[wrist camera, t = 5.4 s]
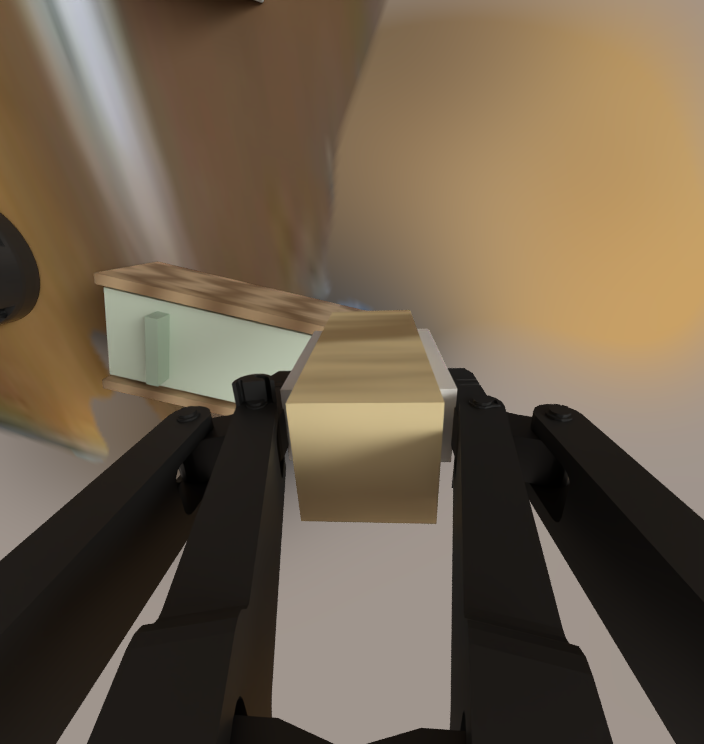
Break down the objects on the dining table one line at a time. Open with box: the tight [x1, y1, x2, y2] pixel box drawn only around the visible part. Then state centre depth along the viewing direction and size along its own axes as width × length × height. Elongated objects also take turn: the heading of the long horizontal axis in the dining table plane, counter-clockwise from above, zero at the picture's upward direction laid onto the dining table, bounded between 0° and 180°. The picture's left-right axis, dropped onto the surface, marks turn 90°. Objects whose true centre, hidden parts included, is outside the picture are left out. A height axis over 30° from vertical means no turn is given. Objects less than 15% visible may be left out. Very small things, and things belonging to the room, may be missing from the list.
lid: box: [104, 287, 312, 402], centre depth 34 cm, size 21×9×3 cm, turn 77°
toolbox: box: [94, 262, 365, 416], centre depth 39 cm, size 29×12×10 cm, turn 77°
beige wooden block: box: [285, 310, 445, 524], centre depth 14 cm, size 4×4×10 cm
